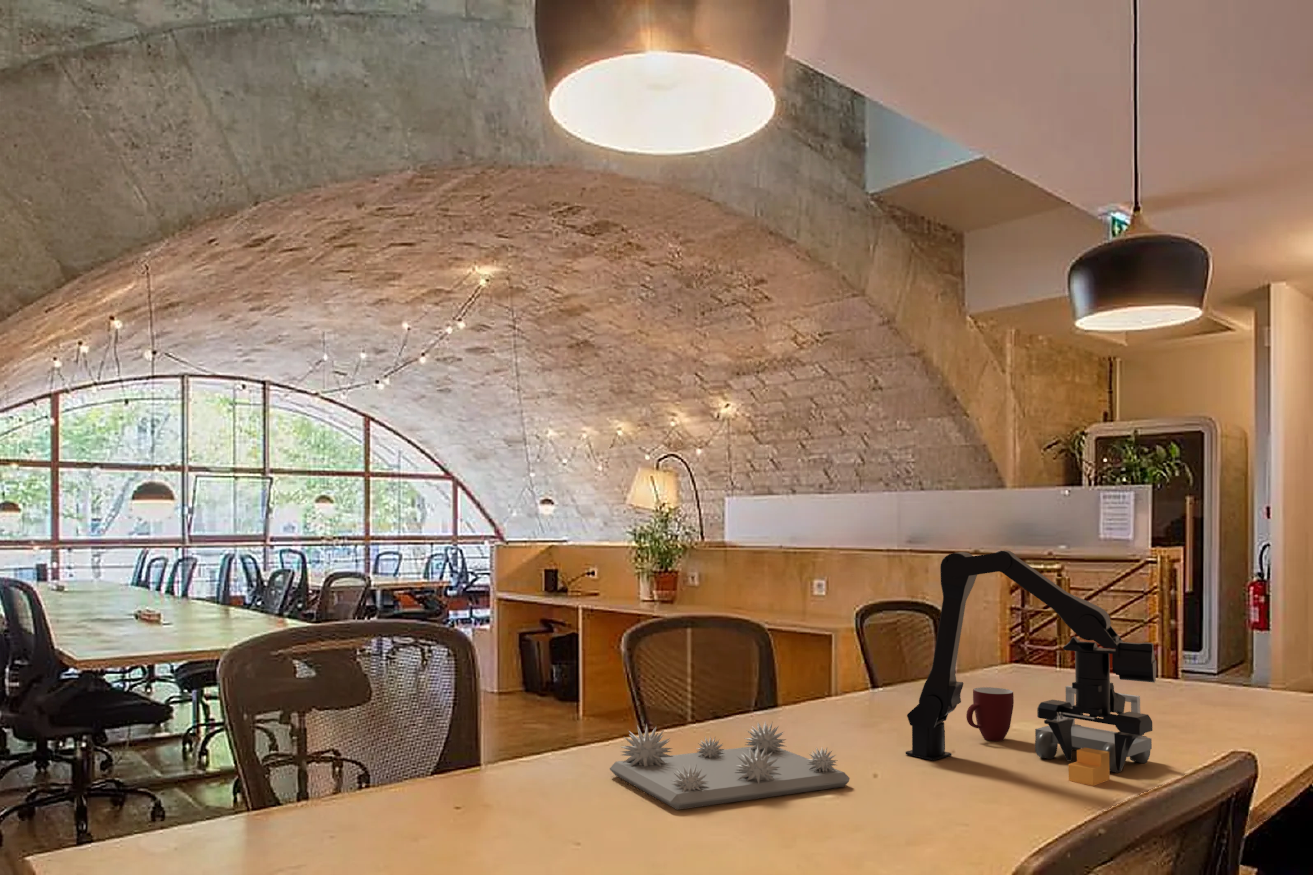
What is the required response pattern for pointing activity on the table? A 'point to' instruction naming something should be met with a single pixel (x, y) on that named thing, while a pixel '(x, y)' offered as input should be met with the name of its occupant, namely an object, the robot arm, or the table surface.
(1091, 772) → the orange stair block
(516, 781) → the table surface
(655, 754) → the decorative tray
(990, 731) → the mug
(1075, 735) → the trolley
